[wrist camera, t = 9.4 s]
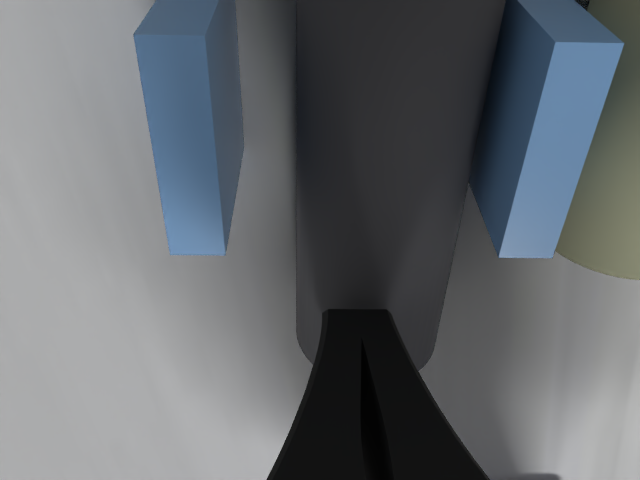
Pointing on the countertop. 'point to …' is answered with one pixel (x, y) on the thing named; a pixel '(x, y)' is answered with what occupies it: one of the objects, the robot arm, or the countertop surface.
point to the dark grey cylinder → (385, 155)
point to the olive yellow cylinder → (611, 163)
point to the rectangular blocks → (492, 143)
